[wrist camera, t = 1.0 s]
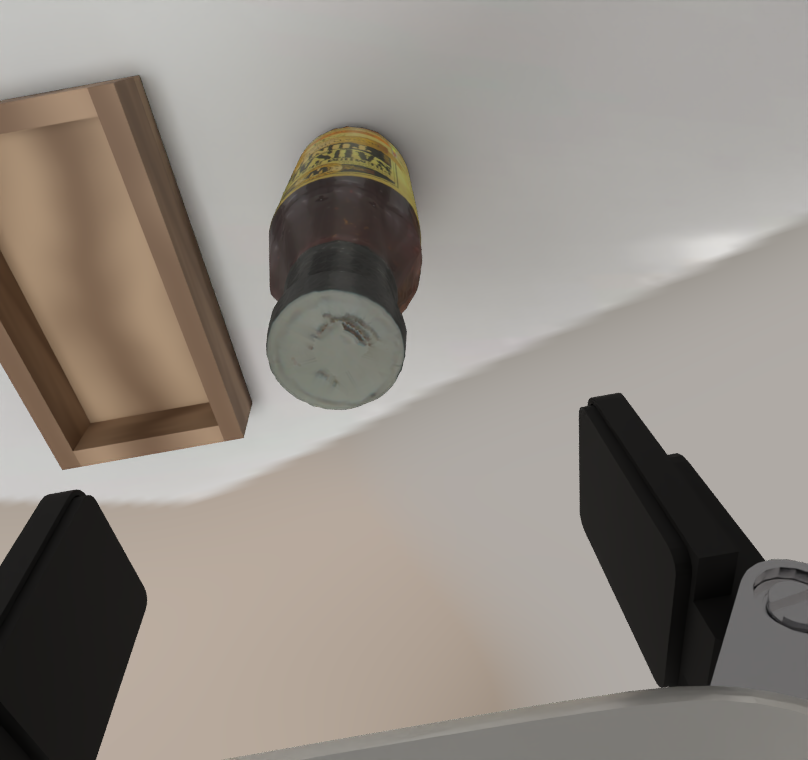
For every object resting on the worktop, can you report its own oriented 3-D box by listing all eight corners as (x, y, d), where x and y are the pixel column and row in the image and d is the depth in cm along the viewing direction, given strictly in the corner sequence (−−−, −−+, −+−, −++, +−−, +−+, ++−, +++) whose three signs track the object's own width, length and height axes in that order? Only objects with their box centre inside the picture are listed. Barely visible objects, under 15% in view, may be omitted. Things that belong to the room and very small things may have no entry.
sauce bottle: (387, 105, 32) (432, 204, 15) (421, 216, 36) (488, 401, 19) (271, 146, 33) (192, 286, 16) (315, 251, 36) (287, 462, 19)
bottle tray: (139, 75, 31) (113, 82, 27) (252, 402, 41) (243, 437, 38) (-83, 115, 31) (-136, 128, 28) (85, 432, 41) (62, 469, 38)
